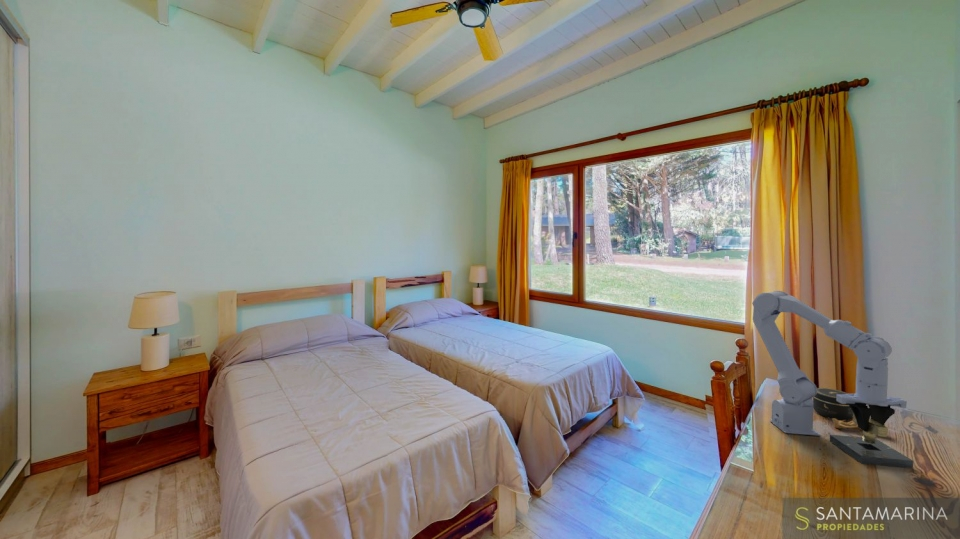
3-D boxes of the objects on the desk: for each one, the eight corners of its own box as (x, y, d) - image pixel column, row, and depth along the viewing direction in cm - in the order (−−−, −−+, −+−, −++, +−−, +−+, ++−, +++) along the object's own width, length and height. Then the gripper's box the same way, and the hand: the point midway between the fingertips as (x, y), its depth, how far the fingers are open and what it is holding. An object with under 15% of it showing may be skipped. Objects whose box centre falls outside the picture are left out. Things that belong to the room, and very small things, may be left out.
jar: (807, 412, 121) (807, 390, 120) (819, 405, 125) (819, 385, 125) (847, 424, 112) (848, 401, 112) (858, 417, 117) (859, 395, 116)
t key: (851, 433, 100) (852, 413, 100) (861, 434, 100) (862, 413, 99) (876, 448, 92) (877, 427, 92) (887, 449, 92) (888, 427, 91)
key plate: (861, 463, 92) (861, 455, 92) (829, 441, 103) (829, 434, 102) (913, 468, 90) (913, 460, 89) (874, 444, 100) (875, 437, 100)
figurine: (895, 425, 102) (841, 410, 107) (891, 445, 102) (838, 429, 107) (876, 419, 110) (827, 405, 115) (873, 438, 109) (824, 423, 114)
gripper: (851, 385, 93) (849, 434, 93) (919, 389, 90) (916, 440, 90) (831, 376, 100) (829, 422, 100) (893, 379, 96) (891, 426, 97)
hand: (869, 430), depth 96 cm, fingers closed on t key, 2 cm apart
